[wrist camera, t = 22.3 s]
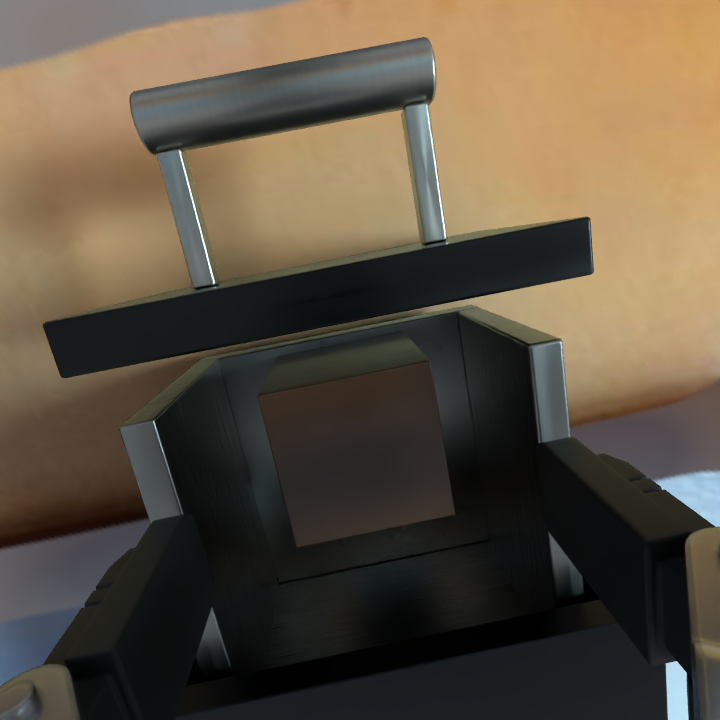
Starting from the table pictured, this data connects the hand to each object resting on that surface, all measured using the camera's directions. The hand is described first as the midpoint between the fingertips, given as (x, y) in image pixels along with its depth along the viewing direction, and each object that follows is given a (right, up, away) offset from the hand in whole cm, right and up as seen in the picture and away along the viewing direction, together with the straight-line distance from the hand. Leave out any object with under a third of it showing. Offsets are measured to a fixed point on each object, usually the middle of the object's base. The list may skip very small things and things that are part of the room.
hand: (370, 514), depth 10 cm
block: (0, +2, +6) cm, 7 cm away
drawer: (-1, +3, +7) cm, 8 cm away
